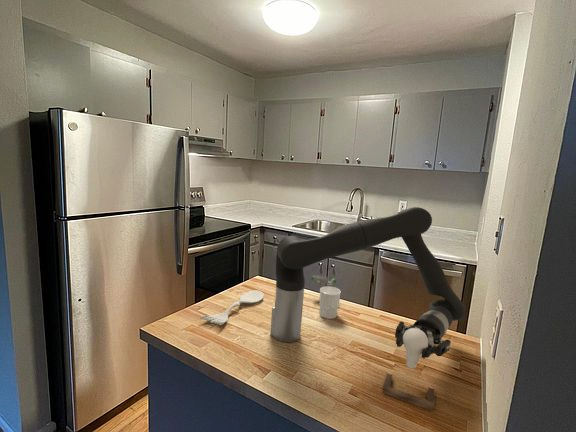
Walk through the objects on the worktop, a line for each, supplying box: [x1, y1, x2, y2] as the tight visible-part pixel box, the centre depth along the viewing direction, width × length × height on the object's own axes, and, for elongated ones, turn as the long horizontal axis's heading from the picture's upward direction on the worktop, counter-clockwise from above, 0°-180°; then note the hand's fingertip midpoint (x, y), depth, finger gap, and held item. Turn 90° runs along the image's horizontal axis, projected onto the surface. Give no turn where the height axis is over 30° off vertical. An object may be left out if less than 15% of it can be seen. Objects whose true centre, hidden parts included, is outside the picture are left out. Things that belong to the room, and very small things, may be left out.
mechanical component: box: [311, 274, 337, 289], centre depth 133 cm, size 3×10×10 cm, turn 78°
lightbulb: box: [403, 328, 428, 370], centre depth 81 cm, size 6×6×11 cm
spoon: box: [200, 289, 265, 326], centre depth 119 cm, size 9×32×4 cm, turn 154°
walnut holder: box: [381, 372, 435, 412], centre depth 80 cm, size 12×7×1 cm, turn 64°
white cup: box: [318, 286, 342, 320], centre depth 119 cm, size 8×8×10 cm
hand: (410, 348), depth 79 cm, fingers closed on lightbulb, 5 cm apart
